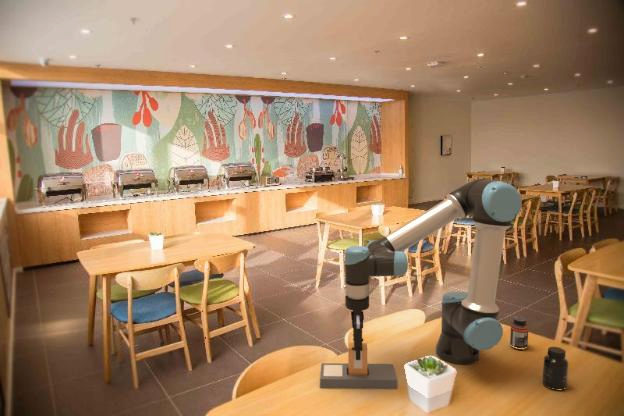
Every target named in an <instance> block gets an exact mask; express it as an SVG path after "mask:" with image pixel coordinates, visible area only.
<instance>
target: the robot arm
mask: <svg viewBox="0 0 624 416" xmlns="http://www.w3.org/2000/svg"><path fill="white" fill-rule="evenodd" d="M522 204H523V201H522V195H521V194H520V192H519V191H518V189H517V188H516V187H515V186H513V185H512V184H510V183H508V182H507V183H506V182H505V181H501V180H492V179H487V178H477V179H474V180H471V181H469V182H466V183H464V184H463V185H461V186H460V187H458V188H456V189H455V190H453V191H451V192H450V193H448V194H447V195H446V199H444V200H442V201H441V202H439V203H437V204H435V205H434V206H432V207H431V208H430V209H428V210H426V211H424V212H422V213H421V214H419V215H418V216H416V217H415V218H413V219H411V220H410V221H408V222H407V223H404V225H402V226H400V227H398V228H397V229H395V230H393V232H390V233H389V234H387V235H386V236H384V237H382V238H380V239H378V240H377V239H372V240H370V241H368V242H367V244H366V245H365V246H363V245H360V246H359V245H353V246H349V247H347V248H346V249H345V251H344V253H345V255H344V276H345V277H344V279H345V280H344V282H345V284H343V289H345V300H344V301H345V305H344V306H345V308H346V309H348V310H349V311H350V317H351V318H350V319H351V324H352V325H351V327H352V330H353V333H352V337H353V338H352V341H353V342H352V343H354V348H352V350H354V368H360V369H362V350H363V348H362V343H363V342H364V338H363V329H364V320H365V314H364V311H366V310H368V309H369V308H370V296H369V295H370V278H371V277H372V278H375V277H377V278H378V277H396V276H403V275H405V274H407V272H408V270H409V260H408V257H407V254H406V252H404V251H406V250H407V249H409V248H410V247H412V246H414V245H415V244H417V243H419V242H421V241H422V240H424V239H426V238H427V237H429V236H431V235H432V234H434V233H436V232H437V231H439V230H441V229H442V228H444V227H445V226H447V225H449V224H450V223H453V222H454V221H455V220H457V219H458V218H460V219H465V218H466V217H468V216H470V215H472V219H471V222H472V223H473V224H474V226H475V235H474V242H473V248H472V249H473V250H472V257H471V266H470V272H469V280H468V288H467V291H449V292H446V293H444V294H443V295H442V300H441V331H440V335H439V338H438V340H437V343H436V345H435V347H436V348H435V354H436V355H437V357H439V359H442V360H444V361H445V362H448V363H451V362H452V364H456V363H458V364H457V365H468V364H467V363H471V364H473V363H472V362H474V363H476V362H478V361H479V360H480V358H479V357H480V355H481V351H486V350H490V349H493V348H494V347H495V346H497V345H498V344H499V343H500V341H501V340H502V337H503V335H504V329H503V325H502V324H501V322H500V321H499V313H500V307H499V306H498V305H497V303H496V298H497V290H498V282H499V276H500V268H501V262H502V256H503V249H504V240H505V233H506V231H507V230H508V229H510V228H511V227H512V222H513V220H514V219H515V218H516V217H517V216H518V215H519V214H520V212H521V209H522ZM478 359H479V360H478ZM477 360H478V361H477ZM475 361H476V362H475ZM459 363H460V364H459Z"/></svg>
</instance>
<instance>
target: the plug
mask: <svg viewBox="0 0 624 416" xmlns="http://www.w3.org/2000/svg"><path fill="white" fill-rule="evenodd" d="M347 346H348V347H347V351H348V352H347V355H348V359H347V361H348V362H347V363H348V368H349V375H367V364H368V344H367V343H363V342H362V348H363V350H362V369H360V368H354V350H352V348H354V343H353V342H352V343H351V342H350V343H349V342H348V343H347Z"/></svg>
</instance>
